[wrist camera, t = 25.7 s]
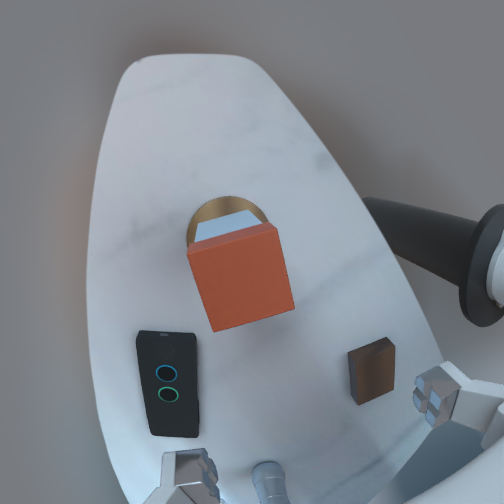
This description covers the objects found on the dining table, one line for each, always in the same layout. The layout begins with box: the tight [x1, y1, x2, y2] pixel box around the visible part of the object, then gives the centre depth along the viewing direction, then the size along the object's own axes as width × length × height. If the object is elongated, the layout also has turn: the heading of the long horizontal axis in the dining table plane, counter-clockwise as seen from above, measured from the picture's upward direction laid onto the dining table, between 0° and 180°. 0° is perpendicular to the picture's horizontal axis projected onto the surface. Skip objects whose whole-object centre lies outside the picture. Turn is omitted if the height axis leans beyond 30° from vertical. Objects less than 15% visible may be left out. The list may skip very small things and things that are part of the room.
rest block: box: [348, 337, 395, 405], centre depth 43 cm, size 7×10×3 cm
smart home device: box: [136, 330, 199, 438], centre depth 39 cm, size 8×2×20 cm
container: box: [187, 210, 295, 332], centre depth 29 cm, size 7×14×7 cm
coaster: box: [187, 196, 268, 247], centre depth 36 cm, size 10×10×1 cm
